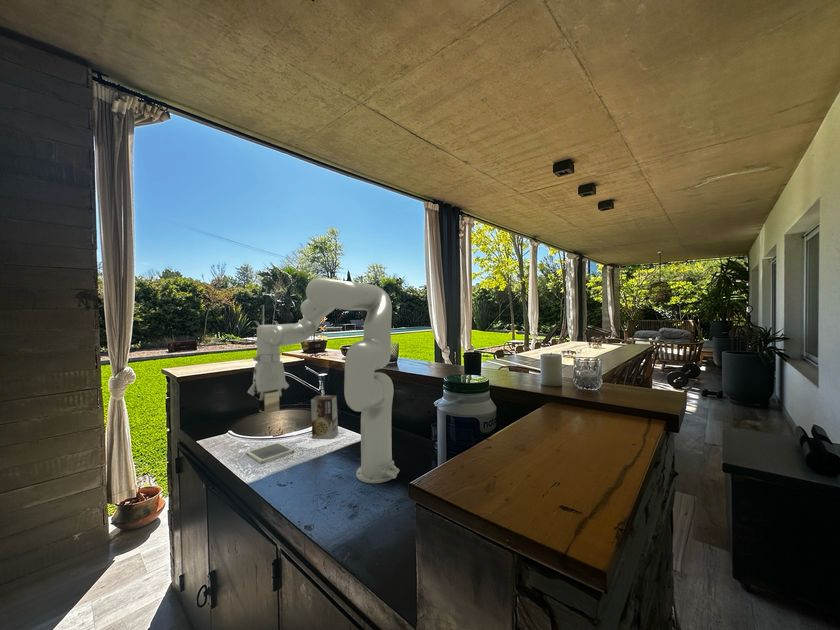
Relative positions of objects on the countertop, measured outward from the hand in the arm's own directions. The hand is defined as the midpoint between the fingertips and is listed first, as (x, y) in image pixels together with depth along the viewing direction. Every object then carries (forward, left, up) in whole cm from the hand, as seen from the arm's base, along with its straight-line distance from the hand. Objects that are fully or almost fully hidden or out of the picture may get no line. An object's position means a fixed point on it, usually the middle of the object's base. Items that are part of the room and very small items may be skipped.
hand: (269, 408), depth 124 cm
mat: (0, 0, -16) cm, 16 cm away
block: (0, 0, -1) cm, 1 cm away
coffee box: (0, -23, -17) cm, 28 cm away
